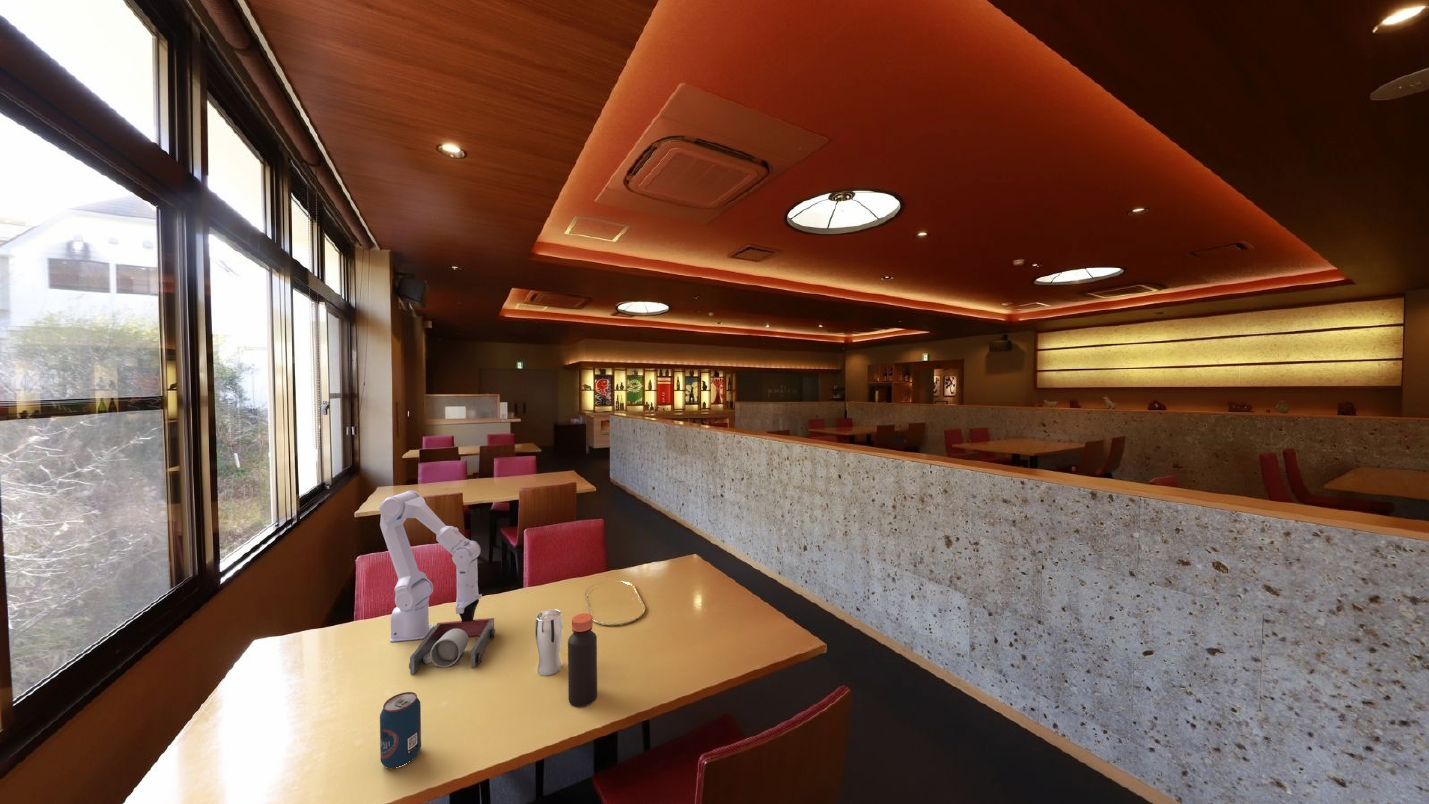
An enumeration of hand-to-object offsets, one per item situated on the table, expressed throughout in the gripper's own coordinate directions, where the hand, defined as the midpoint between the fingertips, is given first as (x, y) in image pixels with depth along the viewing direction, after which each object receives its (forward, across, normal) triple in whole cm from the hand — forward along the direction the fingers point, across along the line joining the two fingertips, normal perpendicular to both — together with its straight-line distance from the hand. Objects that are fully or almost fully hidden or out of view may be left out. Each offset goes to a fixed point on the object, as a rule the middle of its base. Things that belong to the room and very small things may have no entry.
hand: (467, 625), depth 144 cm
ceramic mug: (+3, -14, +2) cm, 14 cm away
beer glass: (+3, -24, -28) cm, 37 cm away
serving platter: (+3, +13, -44) cm, 46 cm away
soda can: (+3, -50, -3) cm, 50 cm away
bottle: (+3, -38, -38) cm, 54 cm away
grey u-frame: (+2, -11, 0) cm, 11 cm away
